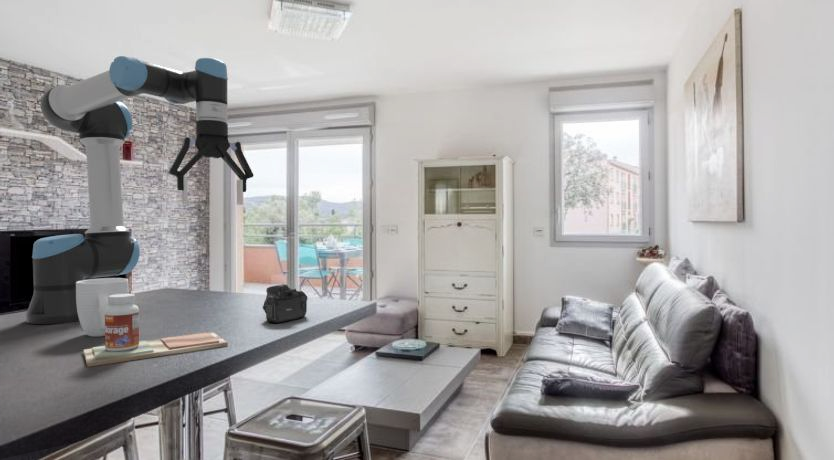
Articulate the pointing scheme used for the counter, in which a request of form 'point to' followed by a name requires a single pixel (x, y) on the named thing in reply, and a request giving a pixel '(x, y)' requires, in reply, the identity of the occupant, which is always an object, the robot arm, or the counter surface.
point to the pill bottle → (121, 323)
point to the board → (155, 348)
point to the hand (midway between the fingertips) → (213, 204)
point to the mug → (97, 302)
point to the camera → (284, 304)
